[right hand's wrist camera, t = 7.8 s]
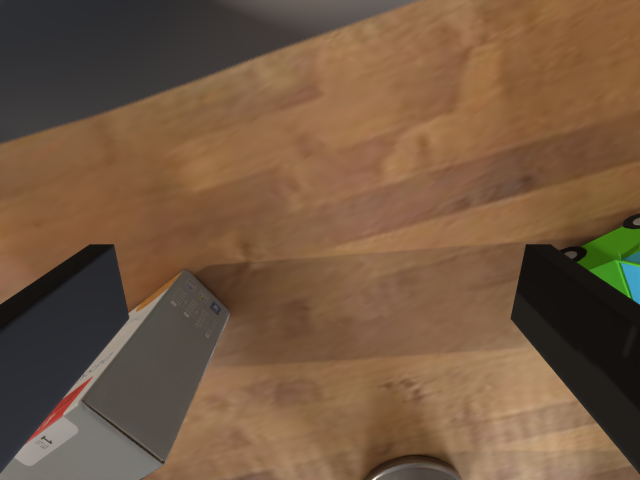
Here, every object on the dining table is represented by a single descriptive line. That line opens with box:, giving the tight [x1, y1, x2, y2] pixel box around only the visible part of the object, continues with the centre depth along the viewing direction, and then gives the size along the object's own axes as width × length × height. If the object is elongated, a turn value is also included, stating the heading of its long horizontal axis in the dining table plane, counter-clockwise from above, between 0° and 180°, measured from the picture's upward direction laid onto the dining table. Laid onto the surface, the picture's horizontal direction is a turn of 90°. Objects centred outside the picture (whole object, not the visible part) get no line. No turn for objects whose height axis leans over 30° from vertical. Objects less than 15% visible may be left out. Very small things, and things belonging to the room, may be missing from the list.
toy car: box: [561, 214, 640, 304], centre depth 38 cm, size 10×13×10 cm
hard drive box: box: [0, 269, 230, 480], centre depth 36 cm, size 16×8×20 cm, turn 128°
